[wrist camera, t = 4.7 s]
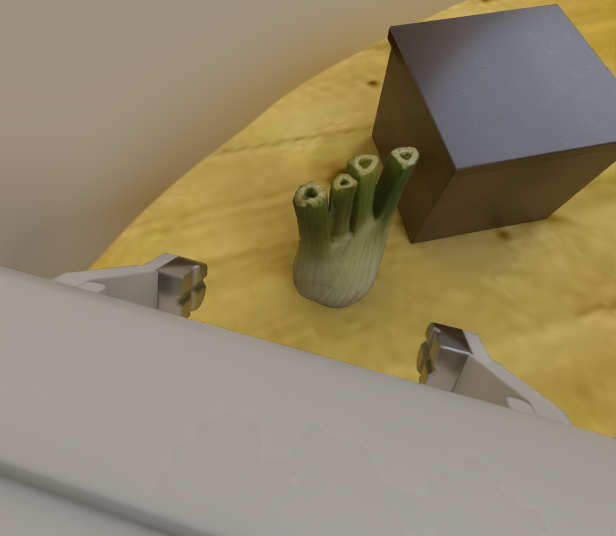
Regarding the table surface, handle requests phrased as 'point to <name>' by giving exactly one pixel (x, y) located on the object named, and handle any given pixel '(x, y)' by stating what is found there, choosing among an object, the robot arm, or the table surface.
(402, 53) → the stand
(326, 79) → the table surface
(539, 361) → the table surface
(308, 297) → the fennel bulb
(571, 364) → the table surface
